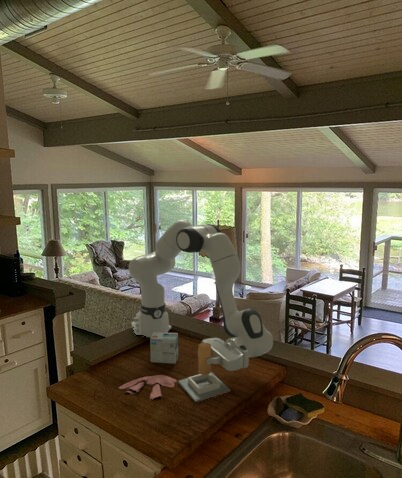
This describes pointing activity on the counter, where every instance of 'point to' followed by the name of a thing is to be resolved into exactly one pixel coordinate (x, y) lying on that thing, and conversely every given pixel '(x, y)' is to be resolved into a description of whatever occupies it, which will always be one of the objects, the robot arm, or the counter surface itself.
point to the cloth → (157, 380)
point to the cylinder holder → (203, 386)
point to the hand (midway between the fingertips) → (202, 357)
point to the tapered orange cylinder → (204, 358)
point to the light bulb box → (164, 347)
